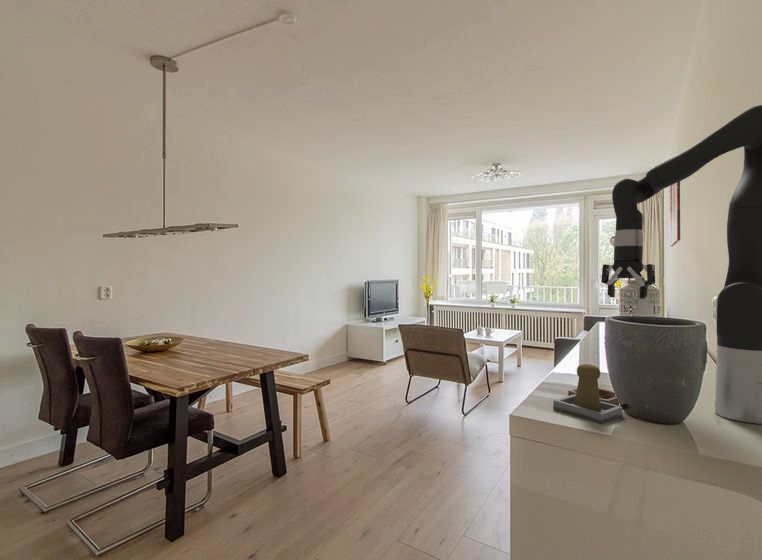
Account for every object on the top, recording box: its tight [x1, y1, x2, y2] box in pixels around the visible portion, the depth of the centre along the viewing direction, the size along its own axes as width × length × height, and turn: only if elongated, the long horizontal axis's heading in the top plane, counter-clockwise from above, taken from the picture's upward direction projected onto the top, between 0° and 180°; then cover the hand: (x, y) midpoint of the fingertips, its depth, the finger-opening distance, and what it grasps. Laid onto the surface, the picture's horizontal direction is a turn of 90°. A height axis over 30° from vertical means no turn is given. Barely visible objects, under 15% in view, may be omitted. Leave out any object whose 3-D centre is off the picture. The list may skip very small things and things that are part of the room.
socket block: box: [567, 387, 619, 406], centre depth 107 cm, size 10×10×2 cm
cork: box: [574, 363, 601, 412], centre depth 98 cm, size 6×6×11 cm
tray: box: [553, 394, 623, 425], centre depth 99 cm, size 12×10×2 cm
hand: (626, 298), depth 122 cm, fingers open, 8 cm apart
